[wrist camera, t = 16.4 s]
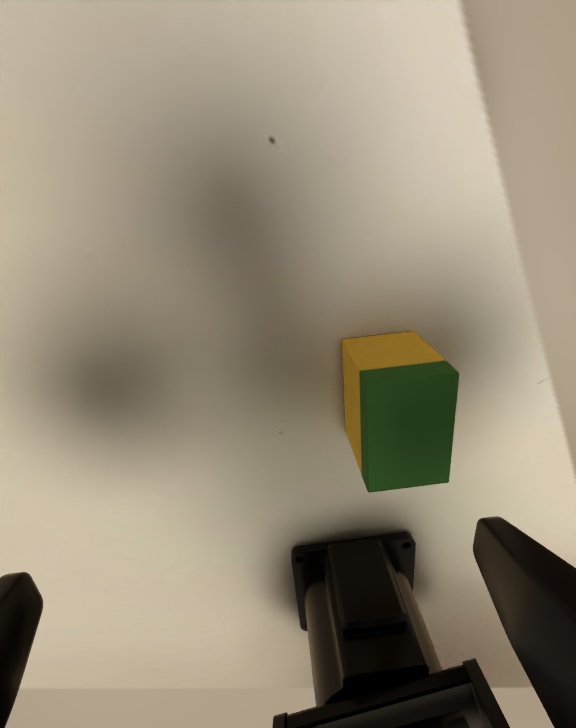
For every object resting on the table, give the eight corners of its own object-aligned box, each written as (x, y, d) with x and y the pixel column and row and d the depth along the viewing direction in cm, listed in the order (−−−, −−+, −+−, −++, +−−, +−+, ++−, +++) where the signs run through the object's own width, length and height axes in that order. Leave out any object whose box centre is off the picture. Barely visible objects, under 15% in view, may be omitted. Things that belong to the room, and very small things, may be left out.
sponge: (410, 422, 18) (449, 482, 14) (345, 430, 18) (367, 493, 14) (414, 330, 16) (460, 372, 12) (341, 338, 16) (365, 383, 12)
